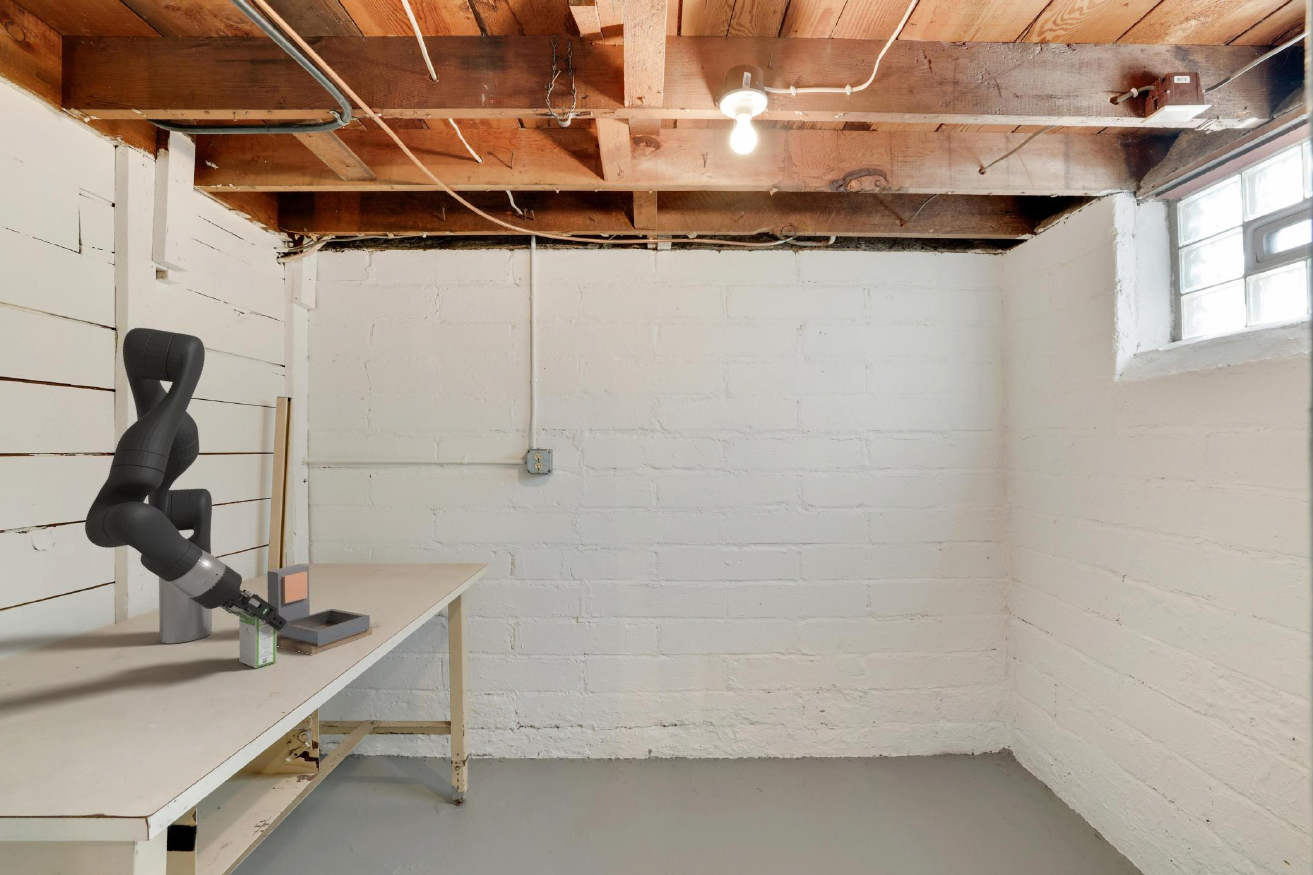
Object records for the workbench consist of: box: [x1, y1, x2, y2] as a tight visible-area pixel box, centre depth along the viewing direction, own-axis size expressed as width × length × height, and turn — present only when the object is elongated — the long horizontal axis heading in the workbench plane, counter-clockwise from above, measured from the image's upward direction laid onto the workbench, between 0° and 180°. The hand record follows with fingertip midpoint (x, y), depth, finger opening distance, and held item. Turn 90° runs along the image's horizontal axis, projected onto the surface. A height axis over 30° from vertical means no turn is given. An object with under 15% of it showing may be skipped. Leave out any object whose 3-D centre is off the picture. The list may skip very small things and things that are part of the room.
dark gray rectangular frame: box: [280, 608, 371, 646], centre depth 129 cm, size 19×12×3 cm, turn 64°
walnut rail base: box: [276, 623, 373, 655], centre depth 130 cm, size 22×14×2 cm, turn 64°
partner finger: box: [267, 564, 311, 631], centre depth 133 cm, size 5×7×13 cm
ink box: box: [238, 610, 277, 669], centre depth 115 cm, size 7×4×13 cm, turn 57°
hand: (270, 623), depth 117 cm, fingers closed on ink box, 7 cm apart
